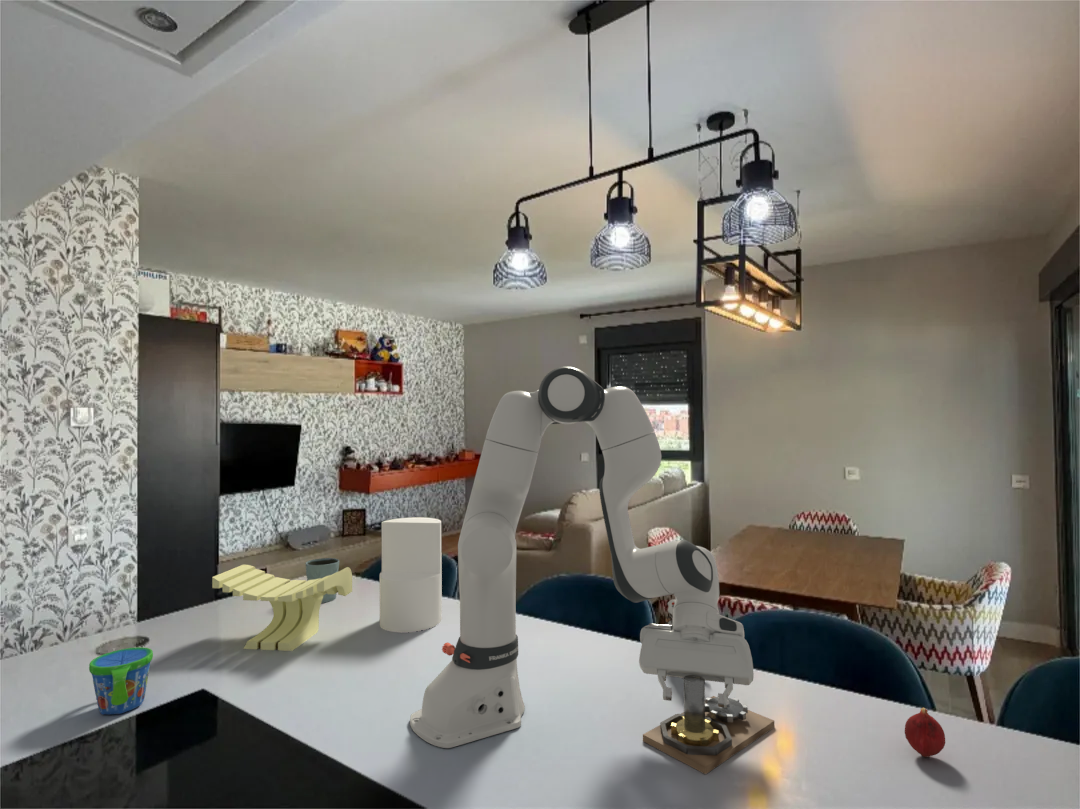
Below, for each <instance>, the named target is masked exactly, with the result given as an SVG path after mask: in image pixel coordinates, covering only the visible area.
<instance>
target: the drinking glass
mask: <svg viewBox="0 0 1080 809" xmlns="http://www.w3.org/2000/svg"><path fill="white" fill-rule="evenodd" d="M339 568H340V559H338V558H331V557H322V558H314V559H311V560H308V561H306V562H305V574H306V579H307V580H306V581H308V580H314V579H319V578H321V579H322V578H324V577H326V576H329V575H332V574H334V573H336V572H339ZM336 599H337V593H336V594H325V595H323V599H322V602H321V604H324V603H329V602H332V601H334V600H336Z"/></svg>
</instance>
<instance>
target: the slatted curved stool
mask: <svg viewBox="0 0 1080 809" xmlns="http://www.w3.org/2000/svg"><path fill="white" fill-rule="evenodd" d="M211 580H212V582H211V584H212V586H211V587H212V588H211V589H222V593H232V597H242V601H256V602H257V601H259V600H260V602H269V603H270V605H271V607H272V611H273V617H272V620H271V621H270V622H269V624H268V625H267V626H266V627H265V628H263V630H261V631H260V632H258V633H257V634H256V635H255V636H253V637H252V638H250V639H249V640H247V641H246V643H245V646H244V647H243V648H242V649H243V650H259V649H260V650H262V651H263V650H264V651H276V650H277V651H285V652H293V651H294V650H296V649H297V648H298V647H300V646H301V645H302V644H304V643H305V642H306V641H308V640H309V639H311V638H312V637H314V636H315V635H317V633H318V632H319V628H320V615H319V614H320V609H321V605H322V603H321V602H322V599H323V595H325V594H336V595H339V596H342V597H346V596H348V595H350V594H351V593H353V573H352V570H351V568H350V567H348V566H347V567H345V568H343V569H341V570H338V572H336V573H334V574H332V575H329V576H326V577H324V578H322V579H321V578H319V579H314V580H308V581H307V580H306V579H300V580H299V579H292V580H291V579H289V578H284V577H277V576H275V575H274V574H271V573H266V571H265V570H261V569H259V568H256V566H253V565H251V564H241V565H239V566H236V567H234V568H231V569H229V570H226V571H224V572H222V573H219V574H216V575H214V576H212V579H211ZM337 593H338V594H337Z"/></svg>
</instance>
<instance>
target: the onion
mask: <svg viewBox="0 0 1080 809" xmlns="http://www.w3.org/2000/svg"><path fill="white" fill-rule="evenodd" d="M904 734H905V735H904V736H905V739H906V741H907V742H908V744H909V746H910V747H911V748H912V749H913V750H914V751H915V752H917V753H918V754H919V755H921V756H922V757H924V758H930V757H933V756H936V755H938V754H939V753H941V751H942V750H943V749H944V748H945V746H946V745H945V744H946V735H945V731H944V729H943V727H942V725H941V724H940V723H939V722H938V721H937V719H935V718H934V717H933V716H932V715H930V714H929V713H928V709H927V708H925V707H922V708H920V711H919V712H918V713H916V714H913V715H911V716H910V717H909V718H907V720H906V722H905V725H904Z"/></svg>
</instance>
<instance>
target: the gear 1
mask: <svg viewBox="0 0 1080 809" xmlns="http://www.w3.org/2000/svg"><path fill="white" fill-rule="evenodd" d="M705 681H706V680H704V678H703V677H701V676H698V675H687V676H685V677H684V678H683V712H684V717H682V720H680V721H678V722H677V723H672V724H671V734H676V736H677V738H678V741H679V742H681V743H683V744H688V745H692V746H708V745H709V744H711V743H712V742H713V741H718V742H719V730H714V729H713V727H712V726H711V721H709V720H707V719H705V699H706V697H705V696H706V694H705V693H706V692H705V689H706V688H705V687H706V685H705V684H706V682H705Z"/></svg>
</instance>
